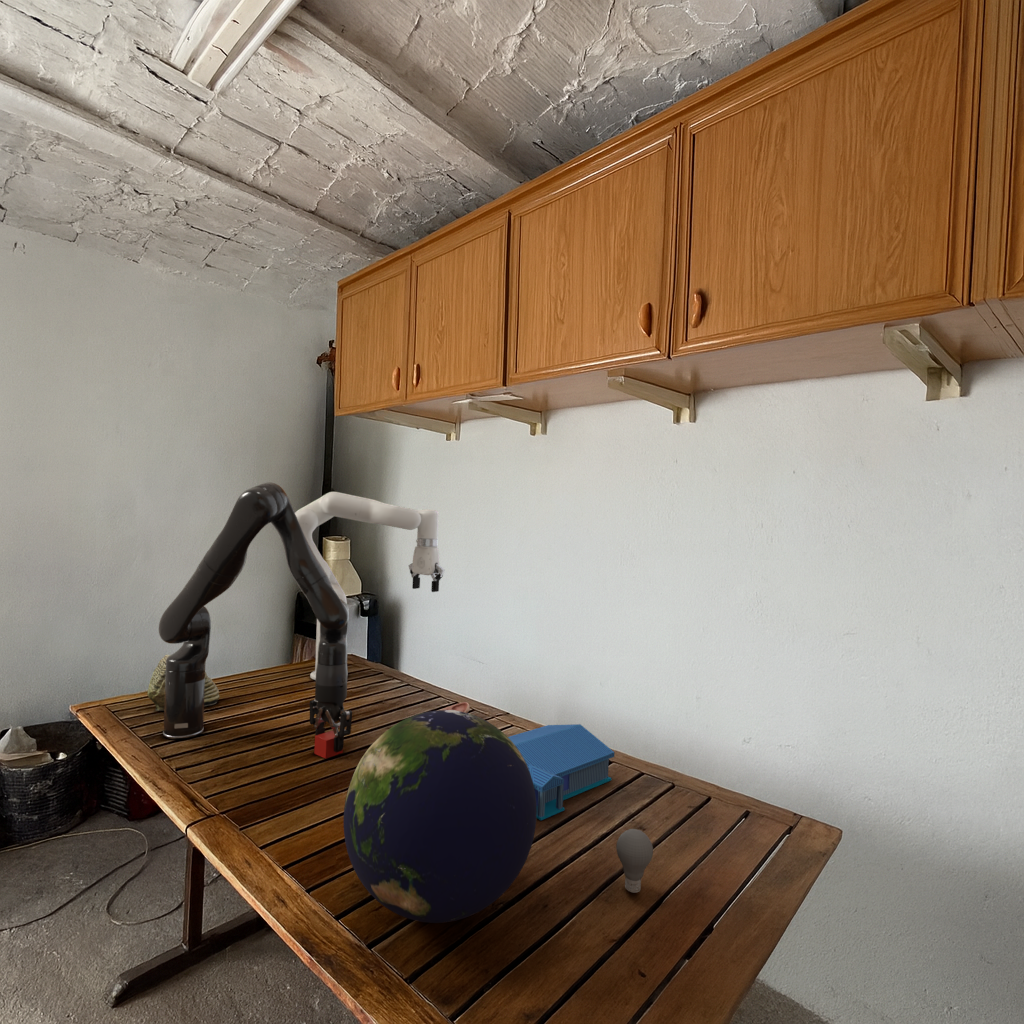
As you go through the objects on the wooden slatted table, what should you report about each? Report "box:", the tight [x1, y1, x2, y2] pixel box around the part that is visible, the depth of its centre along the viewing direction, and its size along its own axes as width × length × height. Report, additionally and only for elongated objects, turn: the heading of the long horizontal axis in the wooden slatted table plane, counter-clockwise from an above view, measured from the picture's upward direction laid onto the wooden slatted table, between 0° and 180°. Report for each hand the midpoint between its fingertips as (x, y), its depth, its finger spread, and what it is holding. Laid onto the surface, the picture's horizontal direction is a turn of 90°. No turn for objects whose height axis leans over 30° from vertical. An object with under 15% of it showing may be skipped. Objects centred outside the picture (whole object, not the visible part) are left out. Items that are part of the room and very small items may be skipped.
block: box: [313, 729, 344, 759], centre depth 156 cm, size 4×5×4 cm
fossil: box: [147, 654, 221, 712], centre depth 185 cm, size 9×18×15 cm, turn 132°
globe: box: [343, 709, 537, 924], centre depth 100 cm, size 30×30×30 cm
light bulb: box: [615, 828, 654, 894], centre depth 106 cm, size 6×6×10 cm
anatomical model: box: [436, 701, 470, 713], centre depth 184 cm, size 13×4×12 cm
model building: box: [507, 723, 615, 821], centre depth 141 cm, size 39×24×10 cm, turn 132°
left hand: (329, 747), depth 156 cm, fingers open, 6 cm apart
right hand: (425, 590), depth 231 cm, fingers open, 9 cm apart
